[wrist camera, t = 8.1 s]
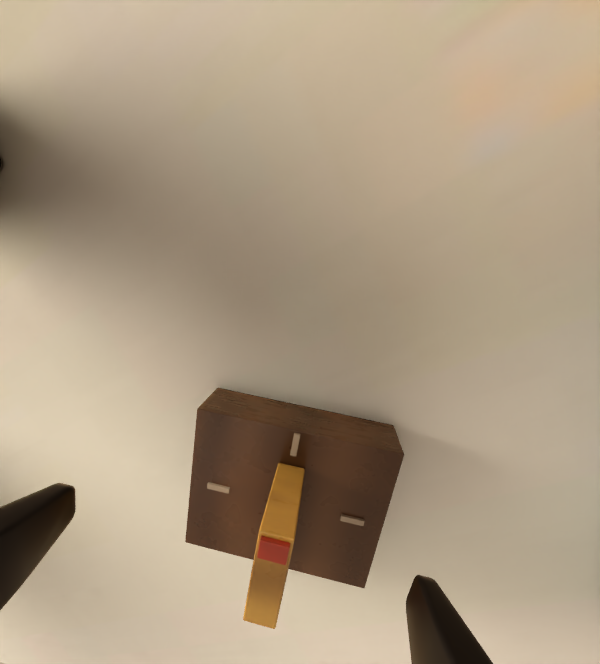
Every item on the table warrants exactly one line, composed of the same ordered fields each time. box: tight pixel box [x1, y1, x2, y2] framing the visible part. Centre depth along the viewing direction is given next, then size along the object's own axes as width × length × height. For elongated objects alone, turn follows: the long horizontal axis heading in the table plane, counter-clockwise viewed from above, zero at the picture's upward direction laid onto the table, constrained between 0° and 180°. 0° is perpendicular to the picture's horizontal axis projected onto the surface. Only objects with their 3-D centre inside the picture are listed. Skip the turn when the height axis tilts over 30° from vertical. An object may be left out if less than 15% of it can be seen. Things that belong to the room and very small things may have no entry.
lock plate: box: [186, 388, 404, 588], centre depth 19 cm, size 12×10×3 cm
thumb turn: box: [243, 463, 305, 629], centre depth 15 cm, size 6×2×5 cm, turn 170°
